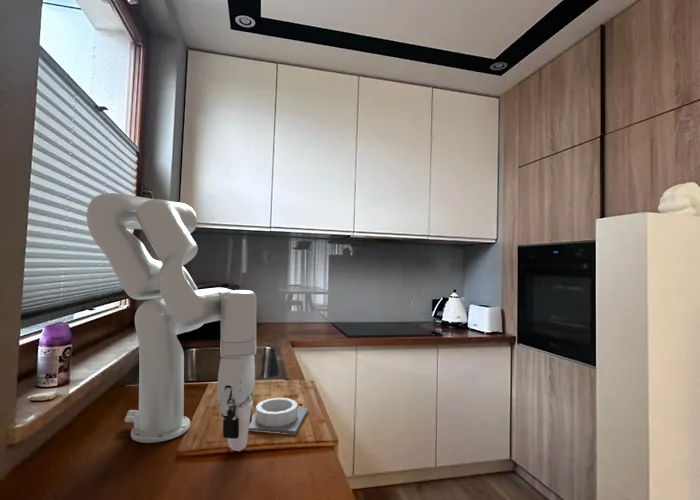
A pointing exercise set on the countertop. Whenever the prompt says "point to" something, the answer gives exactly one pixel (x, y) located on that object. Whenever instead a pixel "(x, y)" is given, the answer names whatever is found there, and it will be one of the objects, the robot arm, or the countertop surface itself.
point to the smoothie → (241, 425)
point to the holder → (278, 416)
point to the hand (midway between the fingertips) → (237, 429)
